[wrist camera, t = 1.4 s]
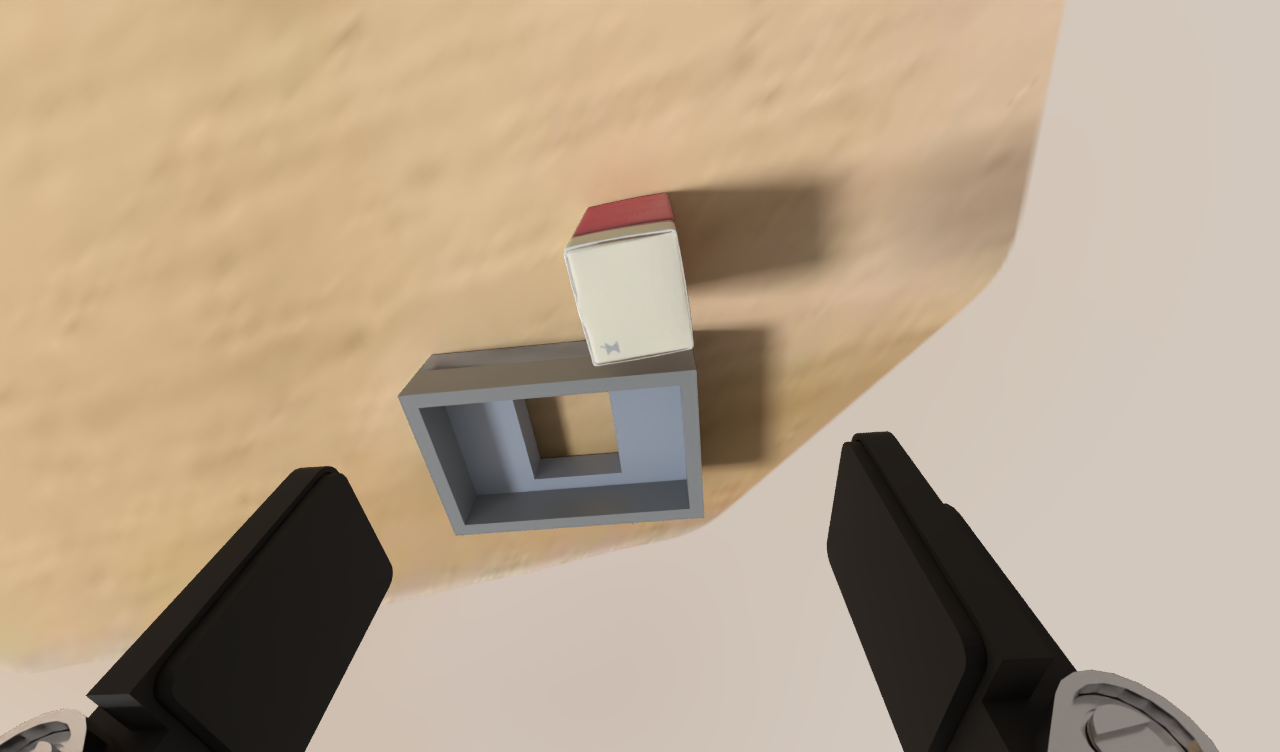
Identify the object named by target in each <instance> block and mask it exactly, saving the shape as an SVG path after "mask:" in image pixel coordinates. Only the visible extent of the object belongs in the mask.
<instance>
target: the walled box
mask: <svg viewBox="0 0 1280 752" xmlns="http://www.w3.org/2000/svg"><path fill="white" fill-rule="evenodd" d="M598 392H609V395H610V401H611V407H612V414H613V420H614V426H615V432H616V439H617V445H618V451H619V453H607V454H594V455H582V456H569V457H557V458H544V459H540V455H539V451H538V448H537V444H536V440H535V436H534V432H533V429H532V425H531V421H530V417H529V413H528V410H527V406H526V402H525V399H529V398H541V397H552V396H564V395H575V394H587V393H598ZM398 398H399V401H400V403H401V405H402V408H403V410H404V413H405V415H406V417H407V420H408V422H409V425H410V427H411V429H412V432H413V434H414V437H415V439H416V441H417V444H418V446H419V449H420V451H421V454H422V456H423V458H424V461H425V463H426V466H427V468H428V470H429V473H430V475H431V478H432V480H433V482H434V485H435V487H436V490H437V492H438V494H439V497H440V499H441V502H442V504H443V506H444V509H445V511H446V514H447V516H448V519H449V521H450V523H451V526H452V528H453V531H454V533H455V535H456V536H457V535H471V534H484V533H498V532H512V531H526V530H540V529H554V528H568V527H582V526H596V525H610V524H624V523H638V522H652V521H666V520H680V519H694V518H704V503H703V484H702V465H701V446H700V427H699V408H698V389H697V370H696V365H695V360H694V355H693V350H692V349H689V350H684V351H679V352H675V353H669V354H664V355H660V356H654V357H649V358H643V359H639V360H632V361H626V362H620V363H613V364H607V365H601V366H594V365H593V363H592V358H591V355H590V351H589V348H588V344H587V341H577V342H566V343H555V344H544V345H534V346H523V347H512V348H501V349H490V350H480V351H469V352H458V353H447V354H437V355H431V356H430V357H429V358H428V360H427V361H426V362H425V363H424V365H423V366H422V367H421V368H420V369H419V371H418V372H417V373H416V374H415V376H414V377H413V378H412V379H411V381H410V382H409V383H408V384H407V385H406V387H405V388H404V389H403V390H402V392H401V393H400V394H399V395H398Z"/></svg>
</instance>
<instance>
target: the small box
mask: <svg viewBox="0 0 1280 752" xmlns="http://www.w3.org/2000/svg"><path fill="white" fill-rule="evenodd" d="M564 258H565V262H566V266H567V270H568V275H569V278H570V283H571V287H572V290H573V294H574V297H575V301H576V306H577V310H578V313H579V317H580V320H581V323H582V327H583V331H584V334H585V337H586V341H587V344H588V348H589V351H590V355H591V358H592V363H593V365H594V366H601V365H607V364H613V363H620V362H626V361H632V360H639V359H643V358H649V357H654V356H660V355H664V354H669V353H675V352H679V351H684V350H689V349H692V348H693V346H694V340H693V330H692V322H691V313H690V306H689V299H688V292H687V286H686V280H685V274H684V268H683V262H682V257H681V251H680V246H679V240H678V235H677V231H676V227H675V222H674V218H673V214H672V210H671V205H670V201H669V197H668V194H666V193H660V194H654V195H649V196H643V197H637V198H632V199H626V200H621V201H617V202H612V203H607V204H603V205H598V206H594V207H589V208H588V209H587V210H586V211H585V213H584V215H583V217H582V219H581V220H580V223H579V224H578V226H577V228H576V230H575V232H574V234H573V235H572V237H571V239H570V241H569V243H568V244H567V246H566V248H565V250H564Z"/></svg>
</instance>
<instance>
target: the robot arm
mask: <svg viewBox="0 0 1280 752" xmlns="http://www.w3.org/2000/svg"><path fill="white" fill-rule="evenodd" d="M827 553H828V558H829V562H830V565H831V567H832V570H833V572H834V575H835V578H836V580H837V582H838V585H839V587H840V590H841V593H842V595H843V598H844V600H845V603H846V605H847V608H848V611H849V613H850V616H851V618H852V621H853V623H854V626H855V628H856V631H857V634H858V636H859V639H860V641H861V644H862V646H863V648H864V651H865V654H866V656H867V659H868V661H869V664H870V666H871V669H872V672H873V674H874V677H875V679H876V682H877V684H878V687H879V690H880V692H881V695H882V697H883V699H884V702H885V705H886V707H887V710H888V712H889V715H890V718H891V720H892V723H893V725H894V728H895V730H896V733H897V735H898V738H899V740H900V743H901V745H902V748H903V751H904V752H1219V751H1218V749H1217V748H1216V746H1215V745H1214V743H1213V742H1212V740H1211V739H1210V738H1209V737H1208V736H1207V735H1206V734H1205V733H1204V732H1203V731H1202V730H1201V729H1200V728H1199V727H1198V726H1197V725H1196V723H1195V722H1194V721H1193V720H1191V718H1190V717H1188V716H1187V715H1186V714H1185V713H1183V712H1182V711H1181V710H1180V709H1178V708H1177V707H1176V706H1174V705H1173V704H1172V703H1171V702H1169V701H1168V700H1167V699H1165V698H1164V697H1162V696H1160V695H1159V694H1157V693H1155V692H1153V691H1152V690H1150V689H1148V688H1146V687H1145V686H1143V685H1141V684H1139V683H1137V682H1135V681H1132V680H1129V679H1127V678H1124V677H1121V676H1119V675H1116V674H1114V673H1107V672H1102V671H1096V670H1086V671H1078V672H1077V671H1076V669H1075V668H1074V666H1073V665H1072V664H1071V662H1070V661H1069V660H1068V658H1067V657H1066V656H1065V655H1064V653H1063V652H1062V650H1061V649H1060V648H1059V646H1058V645H1057V644H1056V642H1055V641H1054V640H1053V638H1052V637H1051V636H1050V634H1049V633H1048V632H1047V630H1046V629H1045V628H1044V626H1043V625H1042V624H1041V622H1040V621H1039V620H1038V618H1037V617H1036V616H1035V614H1034V613H1033V611H1032V610H1031V609H1030V608H1029V606H1028V605H1027V603H1026V602H1025V601H1024V599H1023V598H1022V597H1021V595H1020V594H1019V593H1018V591H1017V590H1016V589H1015V587H1014V586H1013V585H1012V583H1011V582H1010V581H1009V579H1008V578H1007V577H1006V575H1005V574H1004V573H1003V571H1002V570H1001V568H1000V567H999V566H998V564H997V563H996V562H995V560H994V559H993V558H992V556H991V555H990V554H989V552H988V551H987V550H986V549H985V547H984V546H983V544H982V543H981V542H980V540H979V539H978V538H977V536H976V535H975V534H974V532H973V531H972V530H971V528H970V527H969V526H968V524H967V523H966V522H965V520H964V519H963V517H962V516H961V515H960V514H959V513H958V512H957V511H956V510H955V508H954V507H952V506H950V505H948V504H943V503H942V501H941V500H940V499H939V497H938V496H937V495H936V493H935V492H934V490H933V489H932V488H931V486H930V485H929V483H928V482H927V481H926V479H925V478H924V477H923V475H922V474H921V472H920V471H919V470H918V468H917V467H916V465H915V464H914V463H913V461H912V460H911V458H910V457H909V456H908V455H907V453H906V452H905V450H904V449H903V447H902V446H901V445H900V443H899V442H898V441H897V439H896V438H895V436H894V435H893V434H892V433H890V432H888V431H887V432H872V433H871V432H870V433H857V434H855V435H854V436H853V438H852V441H851V442H845V443H844V444H843V447H842V452H841V458H840V464H839V470H838V476H837V483H836V489H835V496H834V501H833V508H832V514H831V521H830V526H829V533H828V539H827ZM392 576H393V570H392V565H391V563H390V561H389V559H388V557H387V555H386V553H385V551H384V549H383V548H382V546H381V544H380V542H379V540H378V538H377V536H376V534H375V532H374V530H373V528H372V526H371V524H370V522H369V520H368V518H367V516H366V515H365V513H364V511H363V509H362V507H361V505H360V503H359V501H358V499H357V497H356V495H355V493H354V491H353V489H352V487H351V485H350V484H349V482H348V480H347V478H346V477H345V475H343V474H341V473H339V472H338V471H337V470H336V469H335V468H333V467H330V466H323V467H307V468H299V469H296V470H294V471H293V472H292V473H290V475H289V476H288V477H287V478H286V479H285V480H284V481H283V482H282V483H281V484H280V485H279V486H278V488H277V489H276V490H275V491H274V492H273V493H272V494H271V495H270V496H269V497H268V498H267V499H266V501H265V502H264V503H263V504H262V505H261V506H260V507H259V508H258V509H257V510H256V511H255V512H254V514H253V515H252V516H251V517H250V518H249V519H248V520H247V521H246V522H245V523H244V524H243V526H242V527H241V528H240V529H239V530H238V531H237V532H236V533H235V534H234V535H233V536H232V537H231V539H230V540H229V541H228V542H227V543H226V544H225V545H224V546H223V547H222V548H221V549H220V550H219V552H218V553H217V554H216V555H215V556H214V557H213V558H212V559H211V560H210V561H209V562H208V563H207V565H206V566H205V567H204V568H203V569H202V570H201V571H200V572H199V573H198V574H197V575H196V576H195V578H194V579H193V580H192V581H191V582H190V583H189V584H188V585H187V586H186V587H185V588H184V590H183V591H182V592H181V593H180V594H179V595H178V596H177V597H176V598H175V599H174V600H173V601H172V603H171V604H170V605H169V606H168V607H167V608H166V609H165V610H164V611H163V612H162V613H161V614H160V616H159V617H158V618H157V619H156V620H155V621H154V622H153V623H152V624H151V625H150V626H149V627H148V629H147V630H146V631H145V632H144V633H143V634H142V635H141V636H140V637H139V638H138V639H137V640H136V642H135V643H134V644H133V645H132V646H131V647H130V648H129V649H128V650H127V651H126V652H125V654H124V655H123V656H122V657H121V658H120V659H119V660H118V661H117V662H116V663H115V664H114V665H113V667H112V668H111V669H110V670H109V671H108V672H107V673H106V674H105V675H104V676H103V677H102V679H101V680H100V681H99V682H98V683H97V684H96V685H95V686H94V687H93V688H92V689H91V690H90V691H89V693H88V694H87V695H86V696H87V697H88V698H89V699H91V700H92V701H93V702H95V703H96V704H97V705H98V707H97V709H96V710H95V711H94V712H93V713H92V714H91V715H90V717H89V718H87V717H86V716H85V715H84V714H82V713H81V712H80V711H78V710H74V709H60V710H56V711H52V712H49V713H44V714H42V715H40V716H38V717H35V718H33V719H31V720H29V721H26V722H24V723H22V724H20V725H19V726H17V727H15V728H14V729H12V730H10V731H8V732H7V733H5V734H4V735H2V736H0V752H305V750H306V748H307V746H308V744H309V742H310V740H311V738H312V736H313V734H314V733H315V730H316V729H317V727H318V725H319V723H320V721H321V719H322V717H323V715H324V713H325V711H326V709H327V707H328V705H329V703H330V701H331V699H332V697H333V695H334V693H335V691H336V689H337V688H338V686H339V684H340V682H341V680H342V678H343V676H344V674H345V672H346V670H347V668H348V666H349V664H350V662H351V660H352V658H353V656H354V655H355V652H356V651H357V649H358V647H359V645H360V643H361V641H362V639H363V637H364V635H365V633H366V631H367V629H368V627H369V625H370V623H371V621H372V619H373V617H374V616H375V614H376V612H377V610H378V607H379V606H380V604H381V602H382V600H383V598H384V596H385V594H386V592H387V590H388V588H389V586H390V584H391V581H392Z"/></svg>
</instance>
